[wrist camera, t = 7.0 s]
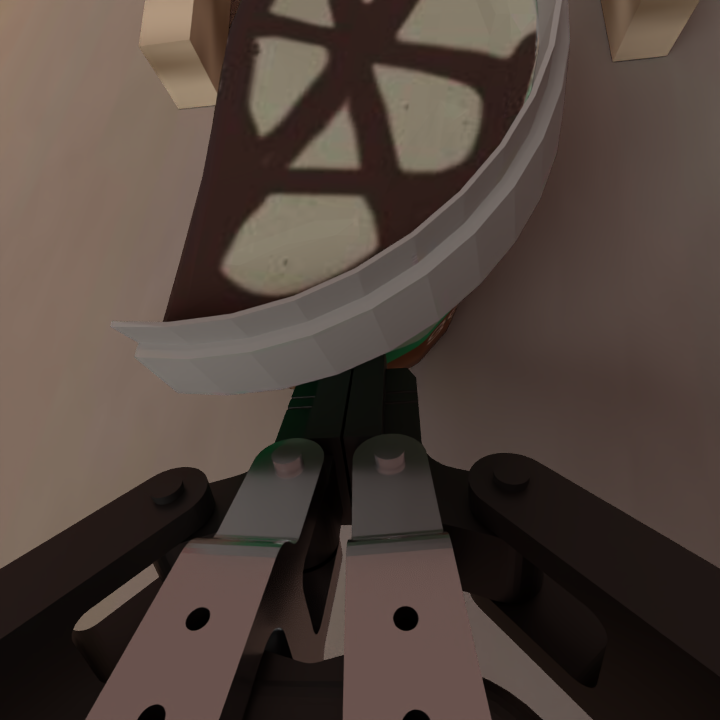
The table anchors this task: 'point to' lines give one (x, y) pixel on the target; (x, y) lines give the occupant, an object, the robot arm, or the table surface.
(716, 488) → the table surface
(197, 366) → the food container
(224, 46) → the wooden bridge piece
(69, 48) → the table surface
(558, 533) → the robot arm
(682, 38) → the table surface
